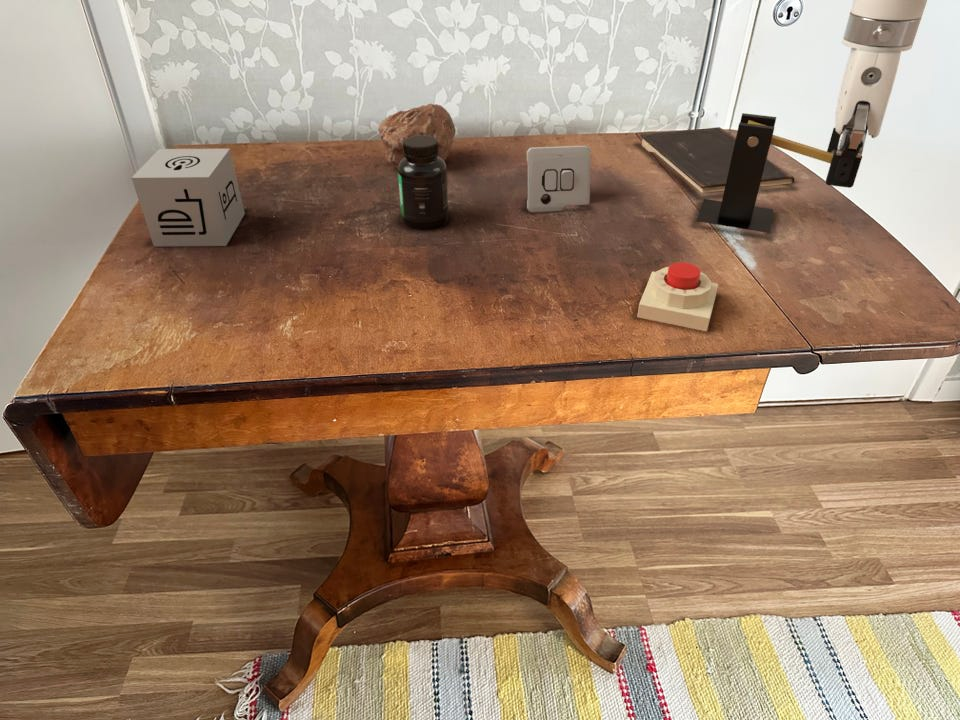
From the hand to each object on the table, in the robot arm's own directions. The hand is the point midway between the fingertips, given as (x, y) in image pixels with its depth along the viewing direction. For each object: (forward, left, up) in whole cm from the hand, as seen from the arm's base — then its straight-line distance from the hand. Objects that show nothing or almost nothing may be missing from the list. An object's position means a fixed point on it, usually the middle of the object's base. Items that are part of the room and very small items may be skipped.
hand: (838, 171), depth 93 cm
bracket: (+11, 0, -10) cm, 15 cm away
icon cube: (+82, +30, -10) cm, 88 cm away
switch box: (+15, +26, -10) cm, 31 cm away
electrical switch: (+37, +4, -10) cm, 39 cm away
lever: (+7, 0, +1) cm, 7 cm away
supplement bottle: (+53, +16, -10) cm, 56 cm away
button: (+15, +26, -6) cm, 31 cm away
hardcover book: (+17, -20, -10) cm, 28 cm away
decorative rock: (+63, -3, -10) cm, 64 cm away
